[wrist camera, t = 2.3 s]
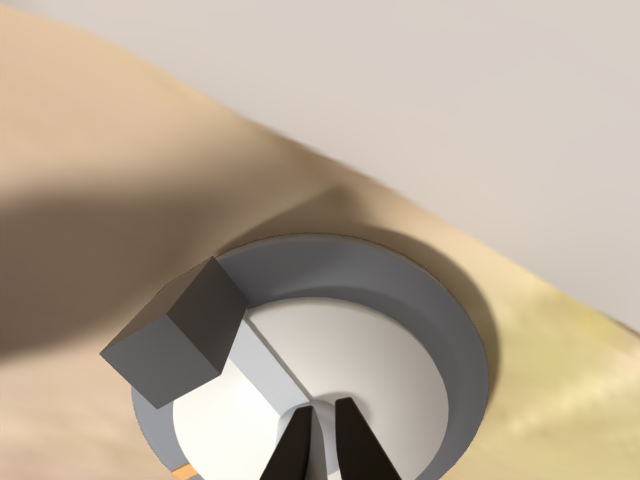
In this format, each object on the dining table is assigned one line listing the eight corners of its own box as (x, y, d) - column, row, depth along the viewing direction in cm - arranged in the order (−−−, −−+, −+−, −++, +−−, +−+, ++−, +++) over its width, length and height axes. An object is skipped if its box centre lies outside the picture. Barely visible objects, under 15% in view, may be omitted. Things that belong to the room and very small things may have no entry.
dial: (481, 440, 20) (542, 550, 15) (277, 528, 23) (266, 650, 18) (326, 184, 15) (332, 213, 10) (78, 337, 17) (-28, 430, 12)
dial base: (69, 347, 20) (47, 366, 18) (379, 156, 16) (386, 158, 15) (269, 535, 26) (267, 562, 24) (524, 426, 23) (540, 448, 21)
